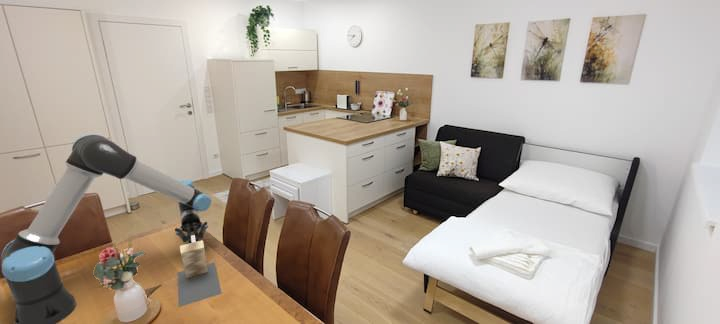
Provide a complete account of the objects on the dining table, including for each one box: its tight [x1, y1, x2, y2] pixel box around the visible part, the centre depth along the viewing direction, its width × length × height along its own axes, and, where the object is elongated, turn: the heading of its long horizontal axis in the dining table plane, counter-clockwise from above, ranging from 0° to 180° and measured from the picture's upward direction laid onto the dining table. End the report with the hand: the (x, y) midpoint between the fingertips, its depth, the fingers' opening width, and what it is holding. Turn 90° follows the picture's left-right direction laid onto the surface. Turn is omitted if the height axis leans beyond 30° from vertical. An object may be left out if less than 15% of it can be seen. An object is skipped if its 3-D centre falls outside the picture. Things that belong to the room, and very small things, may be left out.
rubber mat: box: [176, 261, 223, 308], centre depth 126 cm, size 14×22×1 cm, turn 29°
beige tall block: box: [179, 239, 208, 278], centre depth 128 cm, size 8×4×14 cm, turn 119°
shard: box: [143, 283, 163, 299], centre depth 119 cm, size 11×8×2 cm
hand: (194, 245), depth 128 cm, fingers closed
